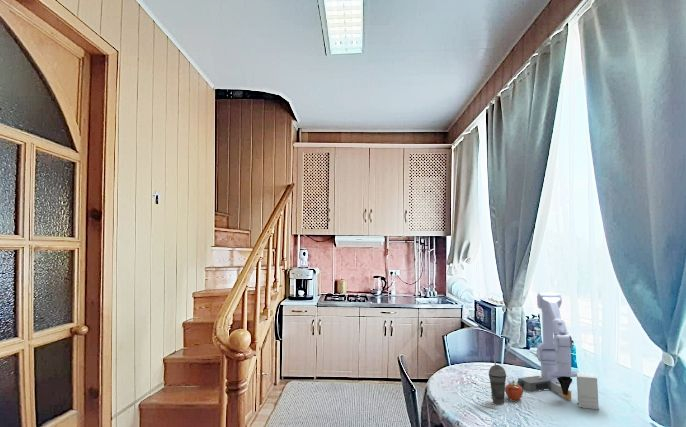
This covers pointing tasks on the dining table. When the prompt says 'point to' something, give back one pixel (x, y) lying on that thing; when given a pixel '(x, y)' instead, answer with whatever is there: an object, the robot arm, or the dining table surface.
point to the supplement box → (587, 390)
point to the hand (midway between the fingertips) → (565, 394)
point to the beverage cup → (497, 383)
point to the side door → (560, 390)
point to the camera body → (534, 383)
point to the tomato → (514, 391)
